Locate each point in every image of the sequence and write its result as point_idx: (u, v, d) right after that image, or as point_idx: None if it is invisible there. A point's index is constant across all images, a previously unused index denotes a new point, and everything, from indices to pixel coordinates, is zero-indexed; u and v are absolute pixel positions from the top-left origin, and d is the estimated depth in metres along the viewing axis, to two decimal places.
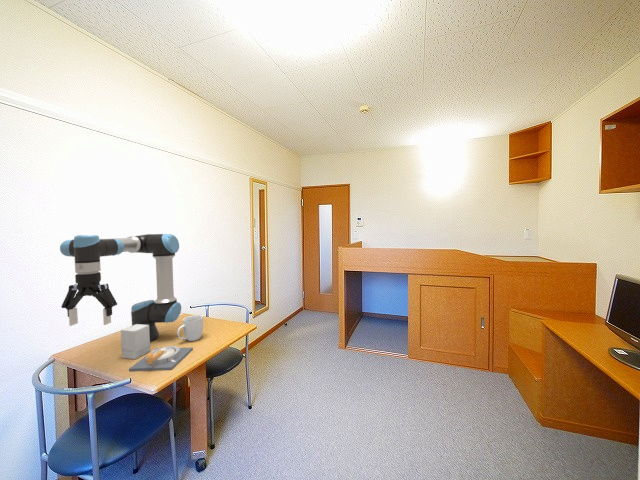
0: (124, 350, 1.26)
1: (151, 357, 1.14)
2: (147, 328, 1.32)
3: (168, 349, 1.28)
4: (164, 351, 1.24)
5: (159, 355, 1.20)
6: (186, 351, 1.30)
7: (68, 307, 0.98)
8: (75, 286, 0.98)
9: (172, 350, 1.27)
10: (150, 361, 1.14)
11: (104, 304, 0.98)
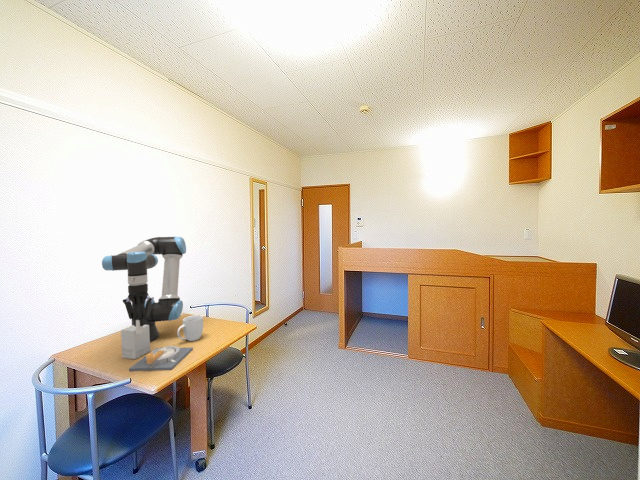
0: (124, 350, 1.26)
1: (151, 357, 1.14)
2: (147, 328, 1.32)
3: (168, 349, 1.28)
4: (164, 351, 1.24)
5: (159, 355, 1.20)
6: (186, 351, 1.30)
7: (134, 318, 1.15)
8: (127, 298, 1.15)
9: (172, 350, 1.27)
10: (150, 361, 1.14)
11: (140, 315, 1.15)
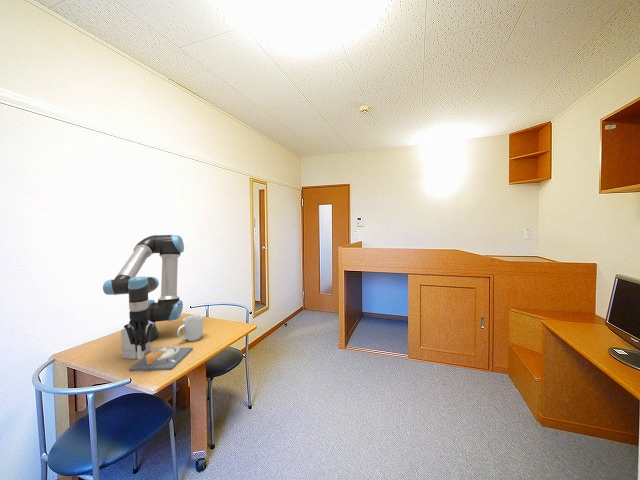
0: (124, 350, 1.26)
1: (151, 357, 1.14)
2: (147, 328, 1.32)
3: (168, 349, 1.28)
4: (164, 351, 1.24)
5: (159, 355, 1.20)
6: (186, 351, 1.30)
7: (136, 343, 1.15)
8: (128, 324, 1.16)
9: (172, 350, 1.27)
10: (150, 361, 1.14)
11: (142, 341, 1.16)
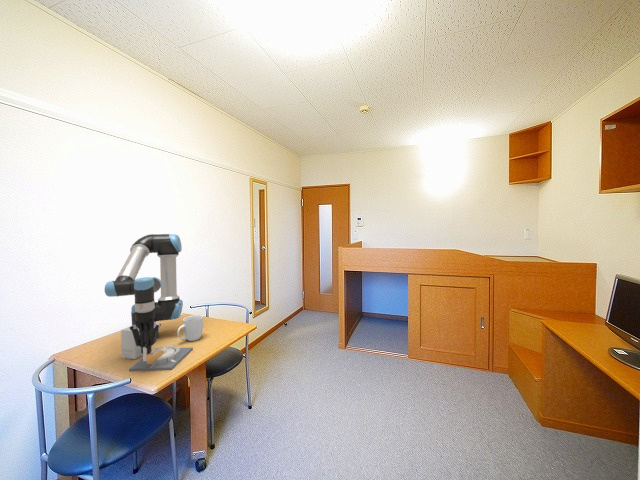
0: (124, 350, 1.26)
1: (151, 357, 1.14)
2: None
3: (168, 349, 1.28)
4: (164, 351, 1.24)
5: (159, 355, 1.20)
6: (186, 351, 1.30)
7: (142, 345, 1.14)
8: (134, 325, 1.14)
9: (172, 350, 1.27)
10: (150, 361, 1.14)
11: (147, 342, 1.14)
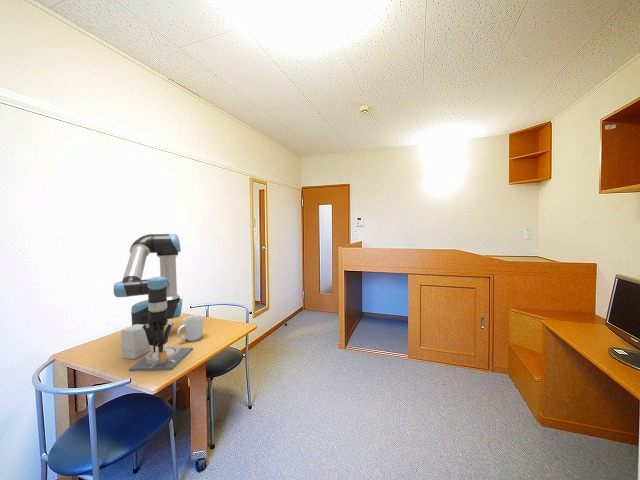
0: (124, 350, 1.26)
1: (166, 354, 1.16)
2: None
3: None
4: (165, 350, 1.24)
5: None
6: (186, 351, 1.30)
7: (154, 344, 1.14)
8: (147, 324, 1.15)
9: (170, 349, 1.28)
10: (165, 358, 1.16)
11: (159, 342, 1.15)
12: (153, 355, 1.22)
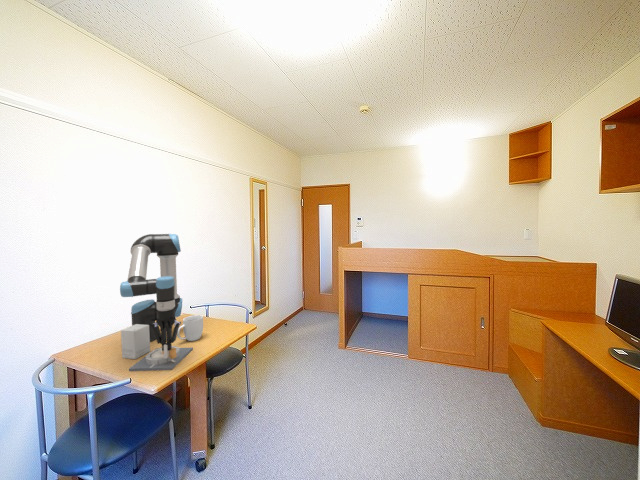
0: (124, 350, 1.26)
1: None
2: (147, 328, 1.32)
3: None
4: None
5: None
6: (186, 351, 1.30)
7: (162, 342, 1.16)
8: (155, 323, 1.16)
9: None
10: None
11: (168, 340, 1.17)
12: (154, 356, 1.21)
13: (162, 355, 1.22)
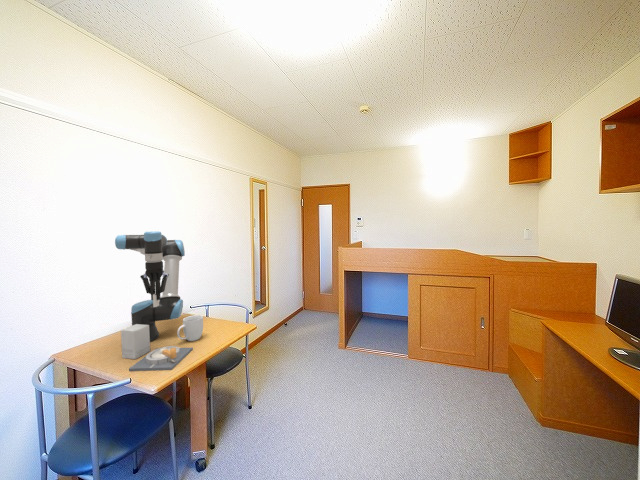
0: (124, 350, 1.26)
1: None
2: (147, 328, 1.32)
3: None
4: (166, 350, 1.25)
5: None
6: (186, 351, 1.30)
7: (151, 292, 1.24)
8: (144, 274, 1.24)
9: (168, 348, 1.29)
10: None
11: (157, 290, 1.25)
12: (154, 356, 1.21)
13: (162, 355, 1.22)
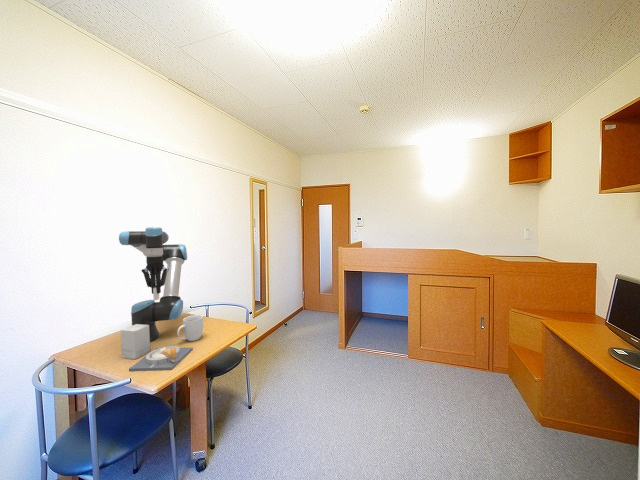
0: (124, 350, 1.26)
1: None
2: (147, 328, 1.32)
3: None
4: (166, 350, 1.25)
5: None
6: (186, 351, 1.30)
7: (152, 286, 1.29)
8: (145, 268, 1.29)
9: (168, 348, 1.29)
10: None
11: (157, 284, 1.29)
12: (154, 356, 1.21)
13: (162, 355, 1.22)
